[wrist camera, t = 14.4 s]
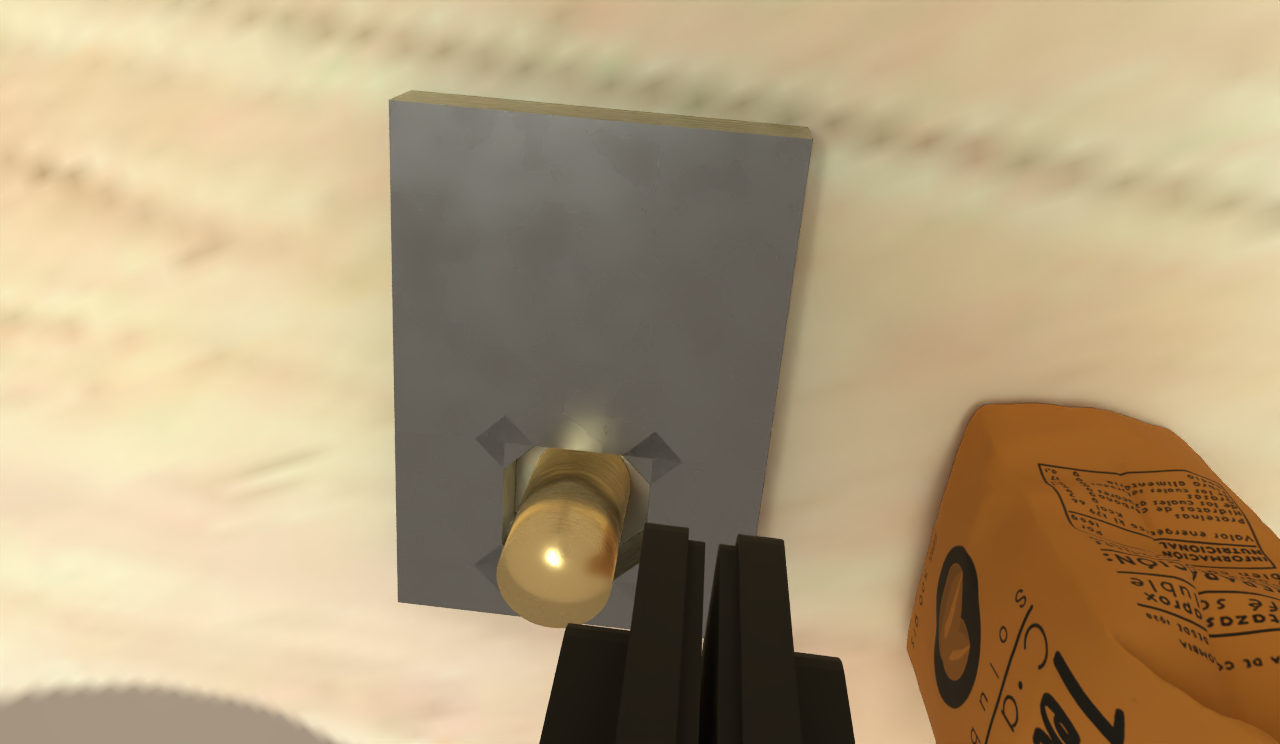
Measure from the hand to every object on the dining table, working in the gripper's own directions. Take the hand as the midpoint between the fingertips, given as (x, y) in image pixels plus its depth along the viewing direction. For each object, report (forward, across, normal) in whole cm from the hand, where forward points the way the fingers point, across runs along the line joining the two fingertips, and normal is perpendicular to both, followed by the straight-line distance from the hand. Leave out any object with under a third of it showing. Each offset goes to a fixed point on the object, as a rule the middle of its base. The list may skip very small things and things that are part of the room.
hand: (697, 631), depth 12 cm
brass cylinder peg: (+26, +4, +14) cm, 29 cm away
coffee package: (+26, -14, +13) cm, 32 cm away
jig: (+26, +4, +9) cm, 27 cm away
